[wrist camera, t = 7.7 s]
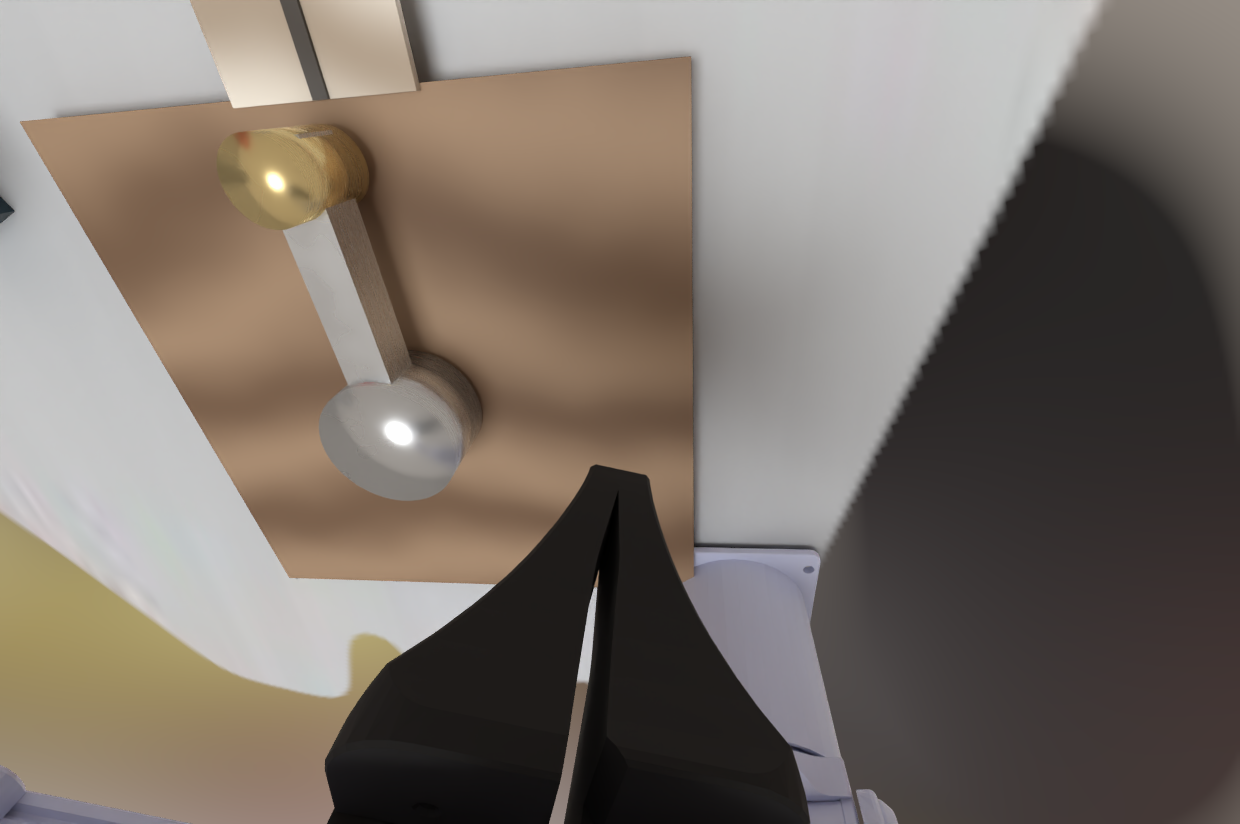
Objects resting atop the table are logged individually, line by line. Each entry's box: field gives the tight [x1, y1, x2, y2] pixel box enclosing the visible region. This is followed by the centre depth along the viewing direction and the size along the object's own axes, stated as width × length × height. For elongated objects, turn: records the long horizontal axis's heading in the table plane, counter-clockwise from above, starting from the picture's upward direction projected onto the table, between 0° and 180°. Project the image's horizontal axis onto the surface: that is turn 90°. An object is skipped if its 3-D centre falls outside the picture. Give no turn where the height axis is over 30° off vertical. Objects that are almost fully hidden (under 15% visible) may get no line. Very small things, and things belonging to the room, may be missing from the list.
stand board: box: [20, 0, 694, 587], centre depth 21 cm, size 25×22×2 cm
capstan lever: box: [216, 124, 482, 501], centre depth 18 cm, size 13×5×4 cm, turn 6°
